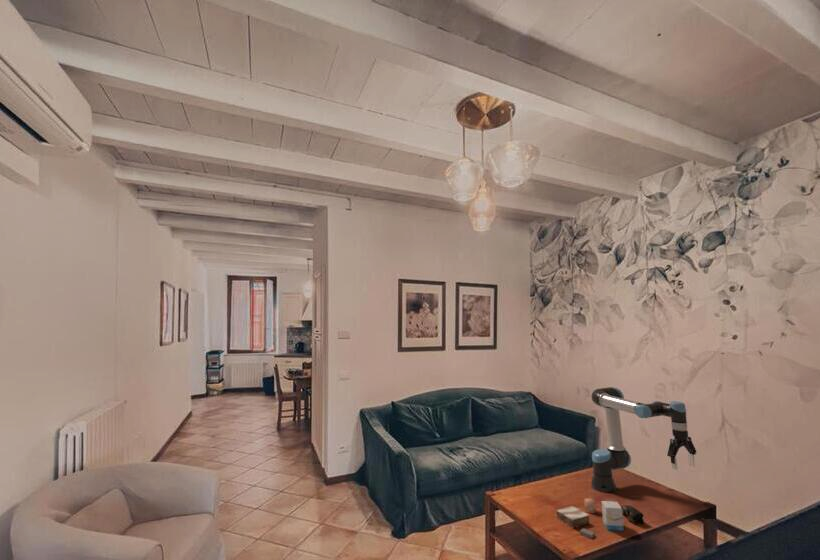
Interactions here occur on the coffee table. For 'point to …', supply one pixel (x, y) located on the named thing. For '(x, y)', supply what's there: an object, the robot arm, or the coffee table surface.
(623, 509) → the sculpture
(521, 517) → the coffee table surface
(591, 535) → the gray rectangular block
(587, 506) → the tan rounded cylinder
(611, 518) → the ink box
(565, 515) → the plinth
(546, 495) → the coffee table surface
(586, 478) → the coffee table surface
